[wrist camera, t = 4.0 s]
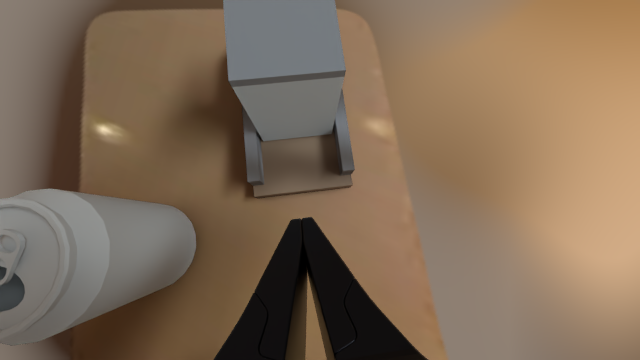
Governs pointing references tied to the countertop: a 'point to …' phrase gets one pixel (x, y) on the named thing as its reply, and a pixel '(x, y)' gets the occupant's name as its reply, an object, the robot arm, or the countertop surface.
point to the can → (83, 258)
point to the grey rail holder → (299, 160)
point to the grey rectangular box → (285, 64)
